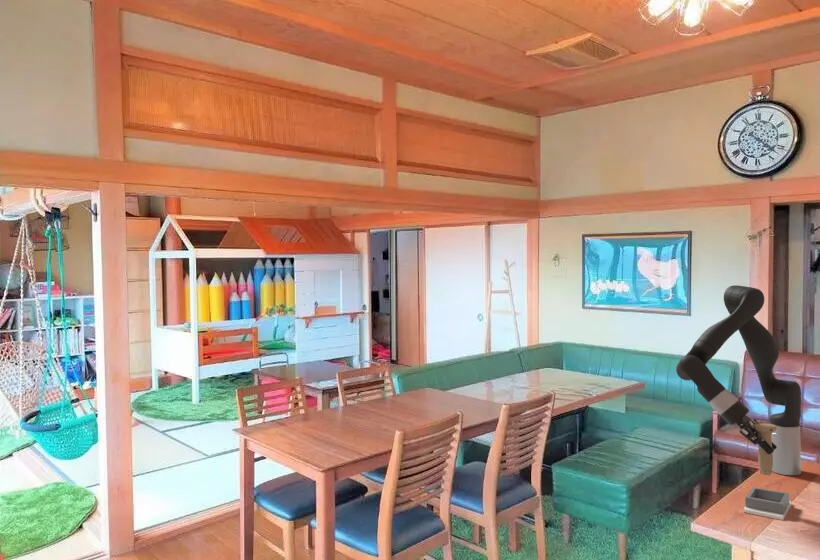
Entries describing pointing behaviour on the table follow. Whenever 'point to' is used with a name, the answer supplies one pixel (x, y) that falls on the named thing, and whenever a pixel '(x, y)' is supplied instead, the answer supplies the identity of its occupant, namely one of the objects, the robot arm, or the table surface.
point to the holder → (767, 503)
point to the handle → (763, 457)
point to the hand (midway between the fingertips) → (773, 450)
